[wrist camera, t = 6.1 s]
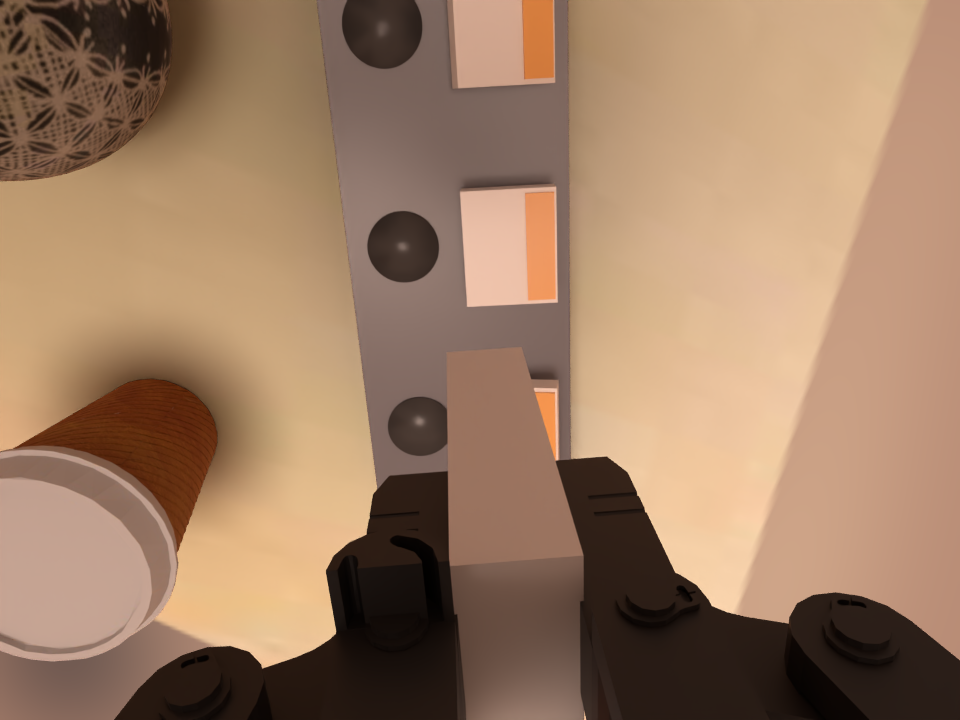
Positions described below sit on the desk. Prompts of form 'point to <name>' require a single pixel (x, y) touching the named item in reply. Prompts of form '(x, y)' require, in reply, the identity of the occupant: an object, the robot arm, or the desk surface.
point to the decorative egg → (77, 80)
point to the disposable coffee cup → (99, 519)
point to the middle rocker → (510, 244)
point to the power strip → (435, 213)
